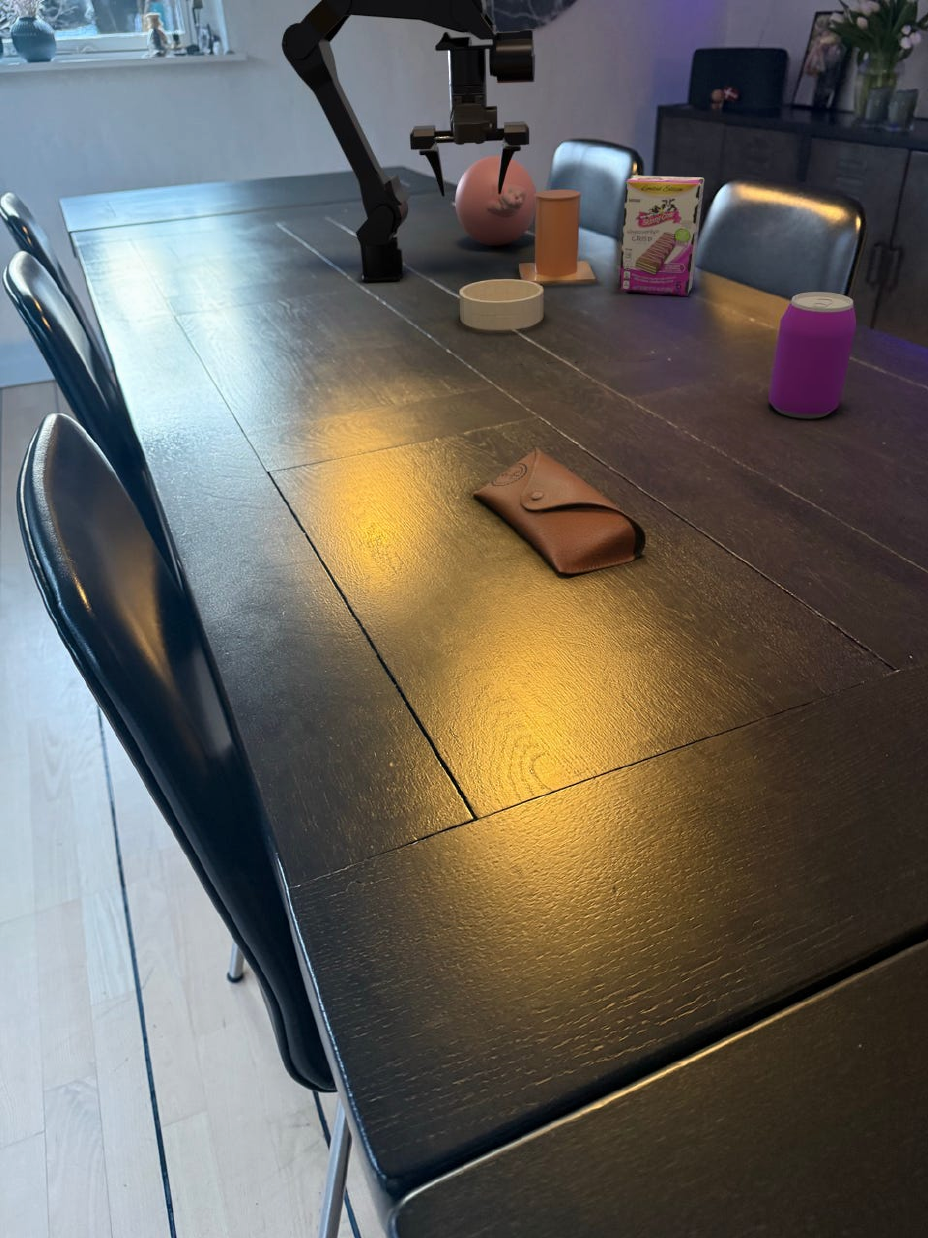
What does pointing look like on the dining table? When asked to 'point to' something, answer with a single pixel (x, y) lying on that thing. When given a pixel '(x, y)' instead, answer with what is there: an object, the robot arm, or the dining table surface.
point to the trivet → (581, 275)
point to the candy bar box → (660, 234)
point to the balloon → (495, 202)
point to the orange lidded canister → (556, 232)
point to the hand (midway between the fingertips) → (471, 194)
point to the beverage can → (812, 354)
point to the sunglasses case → (563, 516)
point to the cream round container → (501, 304)
